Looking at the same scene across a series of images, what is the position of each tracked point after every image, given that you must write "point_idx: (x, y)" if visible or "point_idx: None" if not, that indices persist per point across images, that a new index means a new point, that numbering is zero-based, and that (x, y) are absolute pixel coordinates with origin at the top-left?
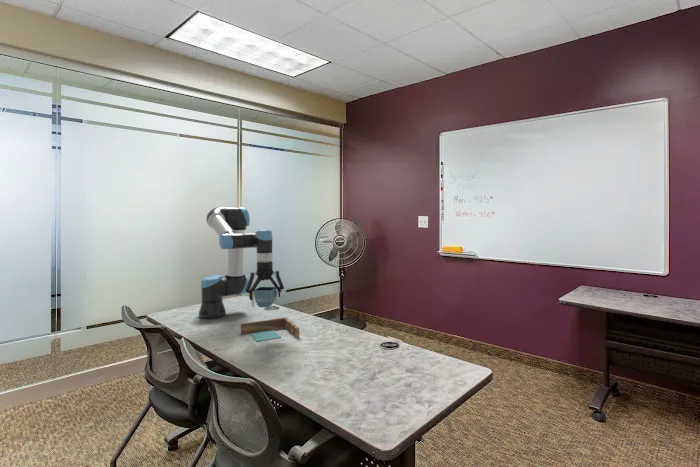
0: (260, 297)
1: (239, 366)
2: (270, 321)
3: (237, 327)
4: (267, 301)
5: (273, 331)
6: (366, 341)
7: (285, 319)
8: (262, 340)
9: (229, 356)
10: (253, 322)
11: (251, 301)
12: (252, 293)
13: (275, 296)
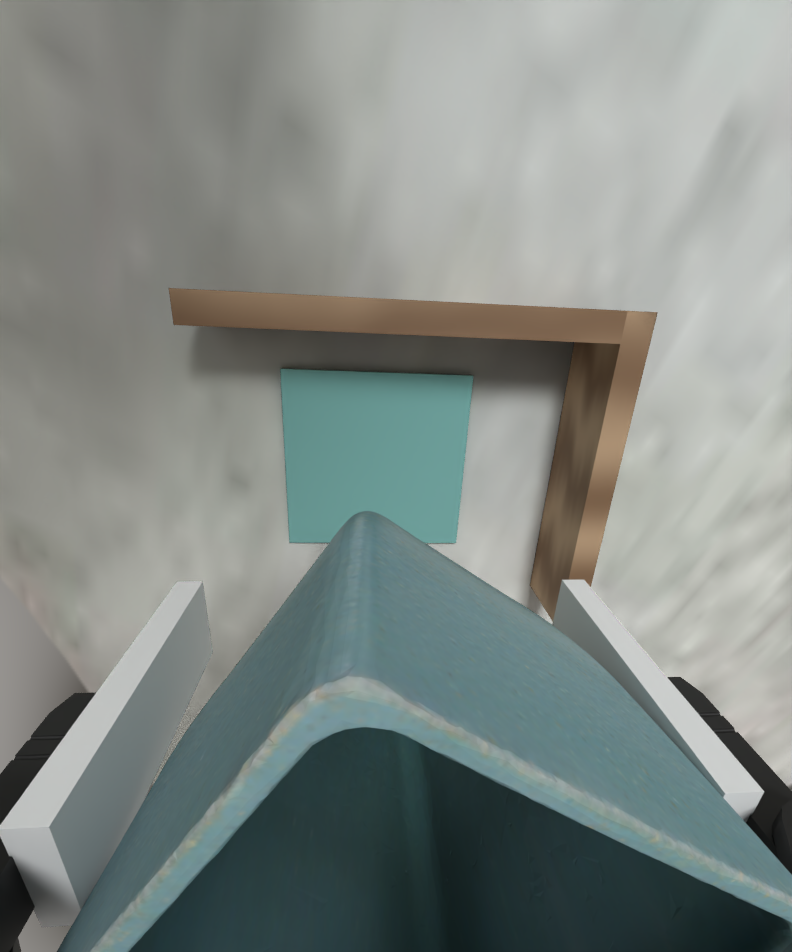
0: (264, 847)
1: (156, 776)
2: (477, 337)
3: (193, 64)
4: (382, 801)
5: (456, 411)
6: (768, 750)
7: (611, 386)
8: (329, 541)
9: (109, 670)
10: (305, 320)
11: (139, 634)
12: (35, 894)
13: (621, 662)
